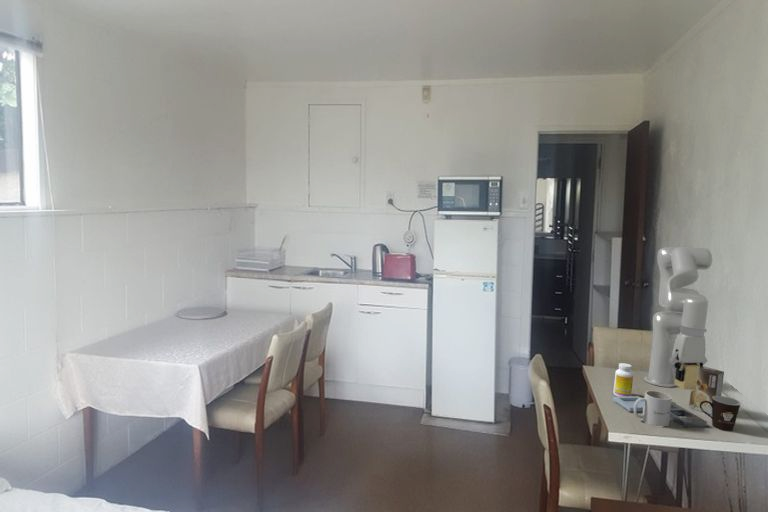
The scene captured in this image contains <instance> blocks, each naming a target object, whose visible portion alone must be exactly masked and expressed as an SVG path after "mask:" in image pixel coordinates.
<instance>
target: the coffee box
mask: <svg viewBox="0 0 768 512" xmlns="http://www.w3.org/2000/svg"><path fill="white" fill-rule="evenodd" d="M724 376H725V371H723V370H718V369H716V368H710V367H707V366H704V365H703V366H702V367H701V368H700V370H699V371H698V379H697V386H696V389H690V394H689V395H690V396H689V403H688V404H689V405H688V408H690V409H692V410H695V411H699V412H701V413H704V412H703V411H702V410H701V408H700V403H701V402H702V401H709V402H711V403H712V397H713V396H722V392H723V383H724V382H723V381H724ZM701 407H702V409H703V410H704V411H705V412H706V413H708V414H709V415H710V416H712V407H711V405H710V404H709V403H707V402H705V403H703V404H702V405H701Z"/></svg>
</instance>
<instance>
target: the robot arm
mask: <svg viewBox="0 0 768 512" xmlns="http://www.w3.org/2000/svg"><path fill="white" fill-rule="evenodd" d="M656 257H657V261H656V262H657V266H658V269H659V274H660V278H659V290H658V304H659V306H660V307H661V308H664V309H666V310H667V311H657V312H655V313H654V314H653V317H652V340H651V341H652V342H651V351H650V357H649V358H650V359H649V368H648V374H646V375H645V376H644V377H643V379H644V381H645V382H646V383H648V384H651V385H654V386H658V387H666V388H672V387H675V386H676V387H677V385H675V384H674V382H675V379H677V380H679V381H683V374H684V371H683V368H684V364H685V363H695V364H698V365H700V367H699V370H700V368H701V367H702V366H704V365H705V364H707V362H708V359H707V357H706V336H705V333H706V332H707V329H706V323H707V317H708V316H707V315H708V308H709V301H708V299H707V298H706V296H705V295H704V294H700V292H699V291H698V290H697V289H694V288H686V287H687V286H690V285H693V284H694V283H696V282H697V281H698V279H699V272H698V270H701V271H702V270H704V271H705V270H708V269H710V268H711V266H712V264H713V255H712V253H711V251H710V250H709V249H708V248H705V247H693V246H678V247H677V246H675V247H674V246H671V247H670V246H667V247H665V246H664V247H662V248H659V250H658V252H657V256H656ZM684 287H685V288H684ZM672 335H675V336H676V337H675V339H674V338H673V337H672ZM676 361H677V362H676ZM680 363H681V365H680ZM675 374H676V375H675Z"/></svg>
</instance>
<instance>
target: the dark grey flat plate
mask: <svg viewBox="0 0 768 512" xmlns="http://www.w3.org/2000/svg"><path fill="white" fill-rule="evenodd" d="M680 416H683V417H680ZM669 420H671V421H672V420H673V421H672V422H674V423H676V424H677V425H679V426H680V425H681V427H682V426H683V427H682V428H707V424H708V421H707V420H705V419H703V418H702V417H700V416H698V415H697V414H694V413H692V412H690V411H689V410H687V409H685V408H684V407H682V406H680V405H679V404H677V403H675V402H673V401H671V409H670V417H669Z"/></svg>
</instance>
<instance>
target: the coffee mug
mask: <svg viewBox="0 0 768 512" xmlns="http://www.w3.org/2000/svg"><path fill="white" fill-rule="evenodd" d="M705 402H707V403H709V404H710V405H711V407H712V415H711V414H708V413H706V412H705V411H704V410H703V409H702V407H701V405H702V404H703V403H705ZM700 408H701V410H702V411H703V412H702V411H701V412H702V413H704V414H705V415H706V416H708V417H709V418H710V419H711V424H712V425H711V426H712V427H713V428H715V429H717V430H720V431H724V432H733V430H734V429H735V425H736V422H737V417H738V414H739V412H740V411H739V410H740V408H741V402H740V401H739V400H737V399H735V398H732V397H728V396H724V395H721V396H713V397H712V403H711V402H709V401H702V402H701V403H700Z"/></svg>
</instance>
